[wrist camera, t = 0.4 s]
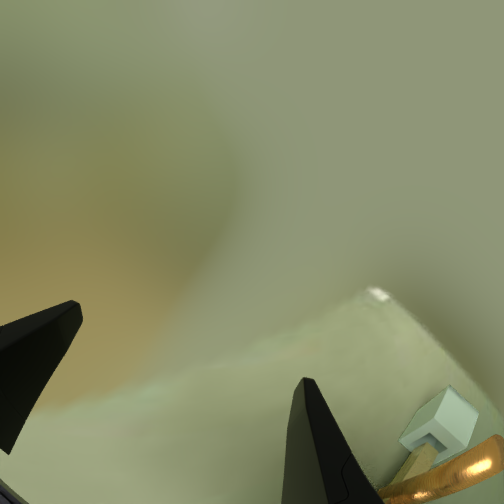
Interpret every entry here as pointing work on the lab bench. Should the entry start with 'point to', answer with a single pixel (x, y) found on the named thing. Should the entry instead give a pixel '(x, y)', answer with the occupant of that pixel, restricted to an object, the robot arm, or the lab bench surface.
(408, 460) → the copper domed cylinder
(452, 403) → the green socket
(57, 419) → the lab bench surface
